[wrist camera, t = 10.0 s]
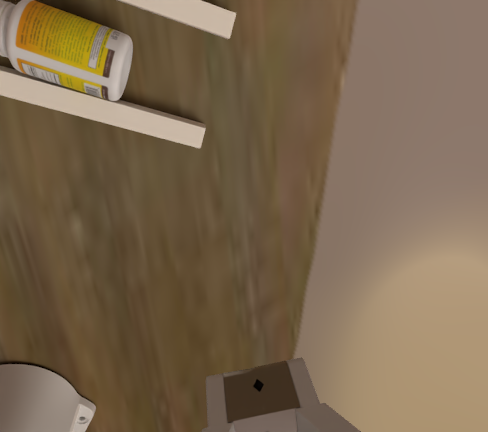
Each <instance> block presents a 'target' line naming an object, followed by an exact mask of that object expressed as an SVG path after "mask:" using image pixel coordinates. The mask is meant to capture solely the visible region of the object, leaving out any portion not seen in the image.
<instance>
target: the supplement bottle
mask: <svg viewBox="0 0 488 432" xmlns="http://www.w3.org/2000/svg"><path fill="white" fill-rule="evenodd" d="M132 53H133V44H132V40H131V38H130V37H129V36H128V35H126V34H124V33H122V32H119V31H117V30H114V29H111V28H108V27H106V26H103V25H100V24H97V23H95V22H92V21H89V20H87V19H84V18H81V17H79V16H76V15H73V14H70V13H68V12H65V11H62V10H59V9H57V8H54V7H51V6H48V5H46V4H43V3H40V2H38V1H35V0H21V1H20V2H19V3H17V5H15V4H12V3H11V2H6V1H3V0H0V55H1V56H3V57H7V58H9V60H10V62H11V64H12V65H13V67H14V68H15V69H16V70H18V71H19V72H22V73H24V74H27V75H31V76H34V77H37V78H40V79H43V80H46V81H49V82H53V83H56V84H59V85H62V86H65V87H69V88H72V89H75V90H78V91H81V92H84V93H88V94H91V95H94V96H97V97H100V98H103V99H107V100H110V101H117V100H118V99H120V97H121V96H122V94H123V92H124V89H125V86H126V83H127V79H128V75H129V71H130V66H131V60H132Z"/></svg>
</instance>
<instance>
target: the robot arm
mask: <svg viewBox="0 0 488 432" xmlns="http://www.w3.org/2000/svg"><path fill="white" fill-rule="evenodd" d="M206 394H207V416H208V428H204V429H203V430H202V432H361V431H359V430H358V429H357V428H356V427H354V426H353V425H352V424H351V423H349V422H348V421H347V420H345V419H344V418H343V417H342V416H341V415H339V414H338V413H337V412H336V411H334V410H333V409H332V408H331V407H329V406H328V405H327V404H326V403H322V404H320V403H319V400H318V397H317V394H316V392H315V389H314V386H313V384H312V381H311V378H310V375H309V372H308V370H307V367H306V365H305V361H304V360H303V358H297V359H292V360H287V361H281V362H277V363H272V364H268V365H263V366H258V367H255V368H251V369H245V370H239V371H233V372H228V373H223V374H217V375H212V376H207V378H206ZM95 410H96V407H95V405H94V404H93V403H91V402H90V401H88V400H87V399H85V398H83V397H81V396H80V395H79V394H78V393H77V392H76V391H75V389H74V388H73V387H72V386H71V385H70V384H69V383H68V382H67V381H66V380H65V379H64V378H62V377H61V376H59V375H57V374H56V373H54V372H51V371H49V370H46V369H44V368H40V367H36V366H31V365H24V364H5V365H0V432H85V431H86V429H87V427H88V425H89V423H90V421H91V419H92V417H93V415H94V413H95Z"/></svg>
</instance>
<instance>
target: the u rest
mask: <svg viewBox="0 0 488 432" xmlns="http://www.w3.org/2000/svg"><path fill="white" fill-rule="evenodd" d="M117 1H120V2H123V3H126V4H129V5H132V6H134V7H137V8H140V9H143V10H146V11H149V12H152V13H154V14H157V15H160V16H163V17H166V18H169V19H172V20H174V21H177V22H180V23H183V24H186V25H189V26H192V27H194V28H197V29H200V30H203V31H206V32H209V33H212V34H214V35H217V36H220V37H223V38H226V39H230V35H231V31H232V28H233V24H234V20H235V16H236V13H234V12H231V11H228V10H226V9H223V8H220V7H218V6H215V5H212V4H210V3H207V2H204V1H201V0H117ZM0 95H2V96H6V97H10V98H13V99H17V100H21V101H24V102H28V103H32V104H36V105H39V106H43V107H47V108H51V109H54V110H58V111H62V112H66V113H69V114H73V115H77V116H81V117H84V118H88V119H92V120H95V121H99V122H103V123H107V124H110V125H114V126H118V127H122V128H125V129H129V130H133V131H137V132H140V133H144V134H148V135H151V136H155V137H159V138H163V139H166V140H170V141H174V142H178V143H181V144H185V145H189V146H193V147H196V148H201V144H202V141H203V137H204V133H205V129H206V127H205V124H203V123H200V122H196V121H193V120H189V119H186V118H182V117H179V116H175V115H172V114H168V113H165V112H161V111H158V110H154V109H151V108H147V107H144V106H140V105H137V104H133V103H130V102H126V101H123V100H119V99H118V100H117V101H110V100H107V99H103V98H100V97H97V96H94V95H91V94H88V93H84V92H81V91H78V90H75V89H72V88H69V87H65V86H62V85H59V84H56V83H53V82H49V81H46V80H43V79H40V78H37V77H34V76H31V75H27V74H24V73H22V72H19V71H18V70H14V69H11V68H7V67H4V66H0Z"/></svg>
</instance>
